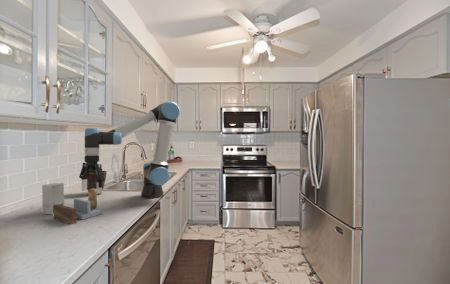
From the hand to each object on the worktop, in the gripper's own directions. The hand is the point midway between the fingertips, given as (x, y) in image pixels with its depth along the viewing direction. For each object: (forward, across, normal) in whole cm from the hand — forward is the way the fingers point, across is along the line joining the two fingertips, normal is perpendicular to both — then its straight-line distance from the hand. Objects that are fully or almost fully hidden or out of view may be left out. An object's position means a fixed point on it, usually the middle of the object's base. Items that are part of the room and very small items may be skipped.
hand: (91, 191), depth 147 cm
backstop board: (+10, +8, -20) cm, 23 cm away
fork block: (+9, +8, -9) cm, 16 cm away
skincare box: (+10, -12, -14) cm, 21 cm away
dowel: (+10, 0, 0) cm, 10 cm away
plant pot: (+10, -30, +23) cm, 39 cm away
